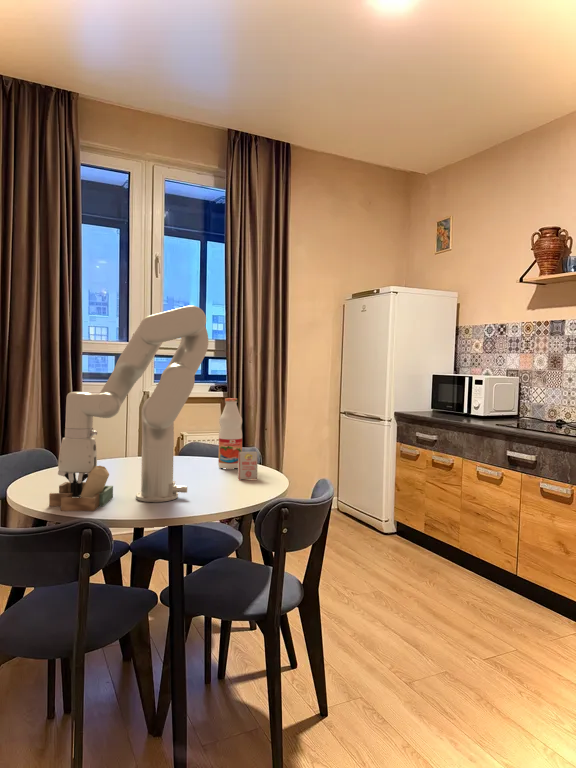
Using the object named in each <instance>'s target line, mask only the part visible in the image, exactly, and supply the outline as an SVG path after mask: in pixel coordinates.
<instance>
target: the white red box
mask: <svg viewBox="0 0 576 768" xmlns="http://www.w3.org/2000/svg"><path fill="white" fill-rule="evenodd" d="M238 479H257V480H258V451H242V452H239V454H238V469H237V480H238Z"/></svg>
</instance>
